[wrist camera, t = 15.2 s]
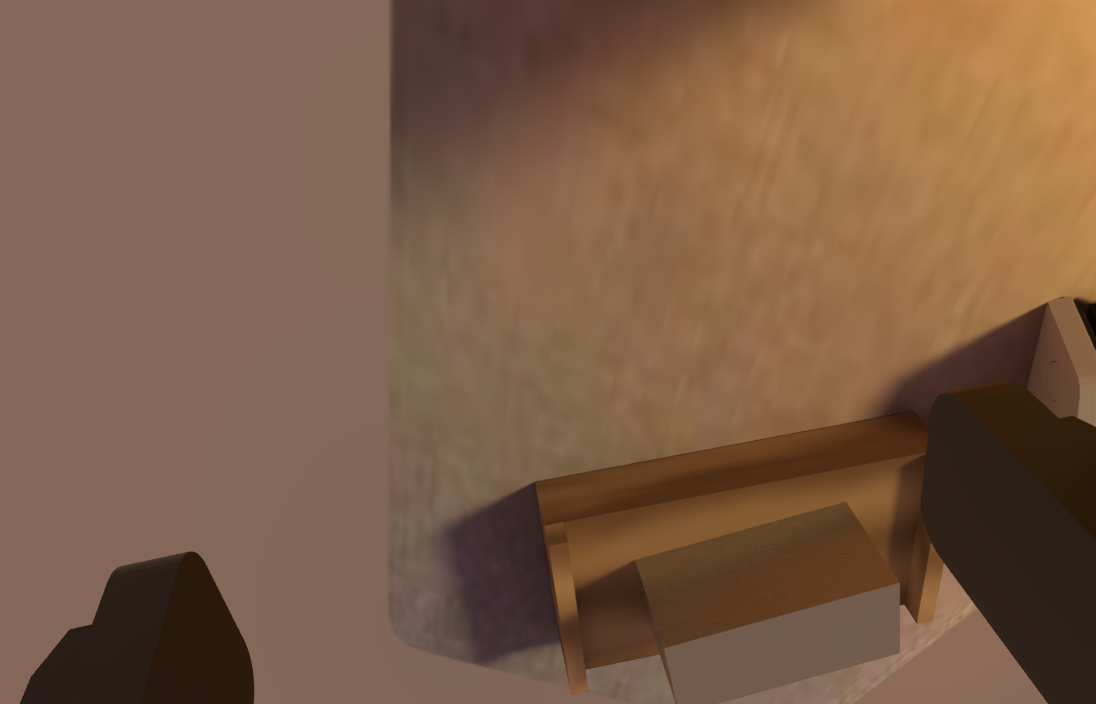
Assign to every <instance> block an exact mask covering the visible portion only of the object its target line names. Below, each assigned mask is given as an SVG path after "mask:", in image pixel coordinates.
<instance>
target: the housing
mask: <svg viewBox="0 0 1096 704" xmlns="http://www.w3.org/2000/svg"><path fill="white" fill-rule="evenodd" d="M635 562H636V566H637V571H638V575H639V579H640V583H641V587H642V592H643V596H644V600H645V604H646V609H647V613H648V617H649V621H650V625H651V628H652V631H653V635H654V638H655V641H656V644H657V647H658V650H659V653H660V656H661V659H662V663H663V666H664V669H665V672H666V675H667V678H668V681H669V684H670V688H671V691H672V694H673V697H674V700H675V703H676V704H719V703H722V702H726V701H729V700H733V699H736V698H740V697H744V696H747V695H751V694H754V693H758V692H761V691H765V690H769V689H772V688H776V687H779V686H783V685H787V684H790V683H794V682H797V681H801V680H804V679H808V678H812V677H815V676H819V675H822V674H826V673H830V672H833V671H837V670H840V669H844V668H847V667H851V666H855V665H858V664H862V663H865V662H869V661H872V660H876V659H880V658H883V657H887V656H890V655H894V654H898V653H899V651H900V582H899V581H898V579H897V578H896V576H895V575H894V573H893V572H892V570H891V569H890V567H889V566H888V564H887V563H886V561H885V560H884V558H883V557H882V555H881V554H880V552H879V551H878V549H877V548H876V546H875V545H874V543H873V542H872V540H871V539H870V537H869V536H868V534H867V533H866V531H865V530H864V528H863V526H862V525H861V523H860V522H859V520H858V519H857V517H856V516H855V514H854V513H853V511H852V510H851V508H850V507H849V505H848V504H847V502H842V503H839V504H835V505H831V506H828V507H824V508H821V509H817V510H813V511H810V512H806V513H803V514H799V515H795V516H792V517H788V518H785V519H781V520H777V521H774V522H770V523H767V524H763V525H759V526H756V527H752V528H748V529H745V530H741V531H738V532H734V533H730V534H727V535H723V536H720V537H716V538H712V539H709V540H705V541H702V542H698V543H694V544H691V545H687V546H683V547H680V548H676V549H673V550H669V551H665V552H662V553H658V554H655V555H651V556H647V557H644V558H640V559H637V560H635Z"/></svg>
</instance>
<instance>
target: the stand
mask: <svg viewBox="0 0 1096 704" xmlns="http://www.w3.org/2000/svg"><path fill="white" fill-rule="evenodd" d="M928 434H929V428H928V427H927V426H926V425H925V423H924V422H923V421H922V420H921V419H920V418H919V417H918V415H917V414H916V413H915V412H914V411H912V412H906V413H901V414H896V415H890V416H885V417H880V418H874V419H869V420H864V421H858V422H853V423H848V424H842V425H837V426H832V427H827V428H821V429H816V430H811V431H805V432H800V433H795V434H789V435H784V436H779V437H773V438H768V439H763V440H757V441H752V442H747V443H741V444H736V445H731V446H725V447H720V448H715V449H710V450H704V451H699V452H694V453H688V454H683V455H678V456H672V457H667V458H662V459H656V460H651V461H646V462H640V463H635V464H630V465H624V466H619V467H614V468H608V469H603V470H598V471H593V472H587V473H582V474H577V475H571V476H566V477H561V478H555V479H550V480H545V481H539V482H535V487H536V493H537V499H538V506H539V512H540V519H541V525H542V531H543V538H544V544H545V551H546V557H547V563H548V570H549V576H550V583H551V589H552V595H553V602H554V608H555V615H556V621H557V627H558V632H559V637H560V642H561V647H562V652H563V656H564V661H565V666H566V671H567V676H568V681H569V686H570V690H571V694H572V695H573V694H578V693H583V692H587V691H588V685H587V678H586V671H585V670H586V669H591V668H596V667H600V666H605V665H610V664H615V663H620V662H625V661H630V660H635V659H640V658H644V657H649V656H654V655H659V654H660V653H659V650H658V647H657V644H656V641H655V638H654V635H653V631H652V628H651V625H650V621H649V617H648V613H647V609H646V604H645V600H644V596H643V592H642V587H641V583H640V579H639V575H638V571H637V566H636V562H635V560H637V559H640V558H644V557H647V556H651V555H655V554H658V553H662V552H665V551H669V550H673V549H676V548H680V547H683V546H687V545H691V544H694V543H698V542H702V541H705V540H709V539H712V538H716V537H720V536H723V535H727V534H730V533H734V532H738V531H741V530H745V529H748V528H752V527H756V526H759V525H763V524H767V523H770V522H774V521H777V520H781V519H785V518H788V517H792V516H795V515H799V514H803V513H806V512H810V511H813V510H817V509H821V508H824V507H828V506H831V505H835V504H839V503H842V502H847V504H848V505H849V507H850V508H851V510H852V511H853V513H854V514H855V516H856V517H857V519H858V520H859V522H860V523H861V525H862V526H863V528H864V530H865V531H866V533H867V534H868V536H869V537H870V539H871V540H872V542H873V543H874V545H875V546H876V548H877V549H878V551H879V552H880V554H881V555H882V557H883V558H884V560H885V561H886V563H887V564H888V566H889V567H890V569H891V570H892V572H893V573H894V575H895V576H896V578H897V579H898V581H899V582H900V605H905V606H906V608H907V609H908V611H909V612H910V614H911V615H912V617H913V618H914V620H915V621H916V623H917V624H918V623H922V622H927V621H932V620H933V617H934V612H935V606H936V601H937V596H938V590H939V585H940V580H941V575H942V569H943V564H944V562H943V561H942V559H941V558H940V557H939V555H938V554H937V552H936V550H935V549H934V547H933V545H932V543H931V541H930V539H929V536H928V534H927V531H926V528H925V525H924V521H923V517H922V511H921V492H922V484H923V475H924V467H925V459H926V451H927V442H928Z"/></svg>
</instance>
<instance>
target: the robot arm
mask: <svg viewBox="0 0 1096 704" xmlns="http://www.w3.org/2000/svg"><path fill="white" fill-rule="evenodd" d="M921 511H922V517H923V521H924V525H925V528H926V531H927V534H928V536H929V539H930V541H931V543H932V545H933V547H934V549H935V550H936V552H937V554H938V555H939V557H940V558H941V559H942V561H943V562H944V563H945V565H946V566H947V567H948V569H949V570H950V571H951V573H952V574H953V575H954V577H955V578H956V580H957V581H958V582H959V584H960V585H961V586H962V588H963V589H964V590H965V592H966V593H967V594H968V596H969V597H970V598H971V600H972V601H973V603H974V604H975V605H976V607H977V608H978V609H979V611H980V612H981V613H982V615H983V616H984V617H985V619H986V620H987V622H988V623H989V624H990V626H991V627H992V628H993V630H994V631H995V632H996V634H997V635H998V636H999V638H1000V639H1001V640H1002V642H1003V643H1004V644H1005V646H1006V647H1007V649H1008V650H1009V651H1010V653H1011V654H1012V655H1013V657H1014V658H1015V659H1016V661H1017V662H1018V663H1019V665H1020V666H1021V668H1022V669H1023V670H1024V672H1025V673H1026V674H1027V676H1028V677H1029V678H1030V680H1031V681H1032V682H1033V684H1034V685H1035V686H1036V688H1037V689H1038V691H1039V692H1040V693H1041V695H1042V696H1043V697H1044V699H1045V700H1046V701H1047V703H1048V704H1096V427H1095V426H1093V425H1091V424H1089V423H1087V422H1085V421H1083V420H1081V419H1079V418H1077V417H1074V416H1068V417H1063V418H1058V417H1057V416H1056V415H1055V414H1054V413H1053V412H1052V411H1051V410H1049V409H1048V408H1047V407H1046V406H1045V405H1044V404H1043V403H1042V402H1041V401H1040V400H1038V399H1037V398H1036V397H1035V396H1034V395H1033V394H1032V393H1031V392H1030V391H1028V390H1027V389H1026V388H1025V387H1024V386H1022V385H1021V384H1019V383H1017V382H1015V381H1011V380H1005V381H1001V382H996V383H991V384H987V385H982V386H977V387H973V388H968V389H963V390H958V391H954V392H949V393H944V394H941V395H939V396H938V397H937V398H936V400H935V401H934V403H933V406H932V411H931V418H930V426H929V434H928V442H927V451H926V459H925V467H924V475H923V484H922V492H921ZM253 703H254V677H253V669H252V664H251V659H250V655H249V651H248V648H247V646H246V643H245V641H244V639H243V637H242V635H241V633H240V631H239V629H238V627H237V625H236V623H235V621H234V620H233V618H232V615H231V613H230V611H229V609H228V607H227V605H226V604H225V601H224V600H223V598H222V595H221V593H220V591H219V589H218V587H217V586H216V583H215V582H214V580H213V578H212V576H211V574H210V572H209V570H208V568H207V566H206V564H205V562H204V560H203V559H202V558H201V557H200V556H199V555H198V554H197V553H195V552H185V553H181V554H176V555H171V556H167V557H162V558H157V559H153V560H148V561H143V562H138V563H134V564H129V565H124V566H120V567H118V568H117V569H115V570H114V572H113V573H112V574H111V576H110V578H109V580H108V582H107V585H106V588H105V591H104V593H103V596H102V599H101V601H100V604H99V607H98V609H97V612H96V615H95V618H94V620H93V623H92V625H88V626H84V627H78V628H75V629H70V630H69V631H68V632H67V633H66V635H65V636H64V637H63V638H62V639H61V641H60V642H59V643H58V644H57V646H56V647H55V648H54V649H53V651H52V652H51V653H50V654H49V656H48V657H47V658H46V659H45V660H44V662H43V663H42V664H41V665H40V667H39V668H38V669H37V670H36V671H35V673H34V674H33V675H32V676H31V678H30V680H29V683H28V685H27V688H26V690H25V693H24V695H23V697H22V700H21V702H20V704H253Z"/></svg>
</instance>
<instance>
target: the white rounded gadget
mask: <svg viewBox="0 0 1096 704" xmlns="http://www.w3.org/2000/svg"><path fill="white" fill-rule="evenodd" d="M1027 390H1028V391H1030V392H1031V393H1032V394H1033V395H1034V396H1035V397H1036V398H1037V399H1038V400H1040V401H1041V402H1042V403H1043V404H1044V405H1045V406H1046V407H1047V408H1048V409H1049V410H1051V411H1052V412H1053V413H1054V414H1055V415H1056V416H1057V417H1058V418H1063V417H1068V416H1074V417H1077V418H1079V419H1081V420H1083V421H1085V422H1087V423H1089V424H1091V425H1093V426H1095V427H1096V304H1090V306H1089V309H1088V313H1087V317H1086V315H1085V313H1084V311H1083V309H1082V307H1081V304H1074V301H1073V299H1072V297H1065V298H1058V299H1054V300H1052V301H1049V302H1047V306H1046V310H1045V314H1044V318H1043V323H1042V327H1041V331H1040V335H1039V339H1038V344H1037V348H1036V352H1035V356H1034V360H1033V365H1032V369H1031V373H1030V377H1029V381H1028V386H1027Z"/></svg>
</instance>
